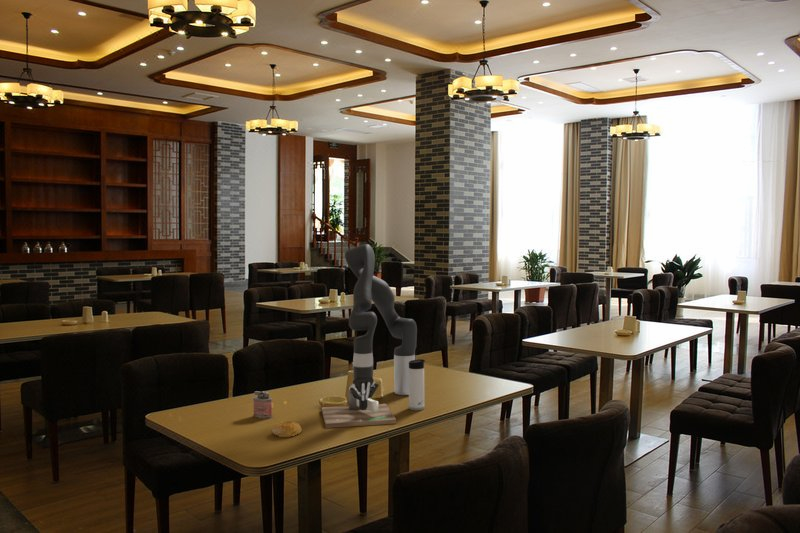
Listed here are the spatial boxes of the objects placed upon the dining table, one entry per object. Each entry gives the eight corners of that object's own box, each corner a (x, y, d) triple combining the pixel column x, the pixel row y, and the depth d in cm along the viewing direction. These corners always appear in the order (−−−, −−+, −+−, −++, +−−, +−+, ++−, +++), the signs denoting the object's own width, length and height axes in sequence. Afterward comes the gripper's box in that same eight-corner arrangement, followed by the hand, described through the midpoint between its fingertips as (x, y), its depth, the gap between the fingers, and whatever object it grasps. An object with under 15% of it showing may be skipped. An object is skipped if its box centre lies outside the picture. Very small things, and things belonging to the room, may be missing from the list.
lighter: (274, 416, 254) (273, 391, 253) (269, 419, 251) (269, 393, 250) (256, 414, 257) (255, 389, 256) (251, 417, 253) (251, 391, 253)
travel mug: (423, 411, 260) (423, 361, 259) (407, 410, 261) (407, 360, 260) (426, 406, 266) (426, 358, 265) (410, 406, 268) (410, 357, 267)
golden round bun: (308, 432, 234) (308, 419, 233) (284, 440, 225) (284, 427, 225) (290, 427, 240) (289, 415, 240) (266, 435, 232) (265, 422, 231)
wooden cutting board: (321, 411, 261) (321, 407, 261) (385, 407, 266) (385, 403, 266) (326, 427, 239) (325, 423, 239) (396, 423, 244) (396, 419, 243)
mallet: (346, 407, 260) (346, 388, 259) (357, 405, 263) (357, 386, 262) (371, 418, 245) (370, 398, 244) (382, 415, 248) (382, 395, 247)
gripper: (353, 368, 240) (353, 414, 241) (383, 363, 248) (383, 409, 249) (343, 364, 246) (343, 410, 247) (372, 360, 254) (372, 404, 255)
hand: (363, 409), depth 248 cm, fingers closed
